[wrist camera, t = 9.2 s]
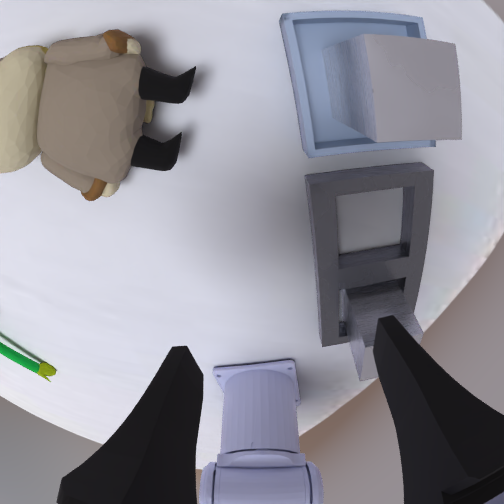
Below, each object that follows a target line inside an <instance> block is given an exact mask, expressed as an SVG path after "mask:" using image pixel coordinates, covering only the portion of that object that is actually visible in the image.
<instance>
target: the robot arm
mask: <svg viewBox="0 0 504 504" xmlns="http://www.w3.org/2000/svg"><path fill="white" fill-rule="evenodd" d="M373 355H374V360H375V364H376V368H377V372H378V376H379V379H380V382H381V384H382V387H383V390H384V393H385V396H386V399H387V402H388V405H389V408H390V411H391V414H392V417H393V420H394V424H395V427H396V432H397V438H398V443H399V449H400V456H401V464H402V473H403V484H404V504H504V415H502V414H501V413H499V412H497V411H496V410H494V409H492V408H491V407H490V406H488V405H487V404H485V403H484V402H482V401H481V400H479V399H478V398H476V397H475V396H474V395H473V394H471V393H470V392H469V391H467V390H466V389H465V388H464V387H462V386H461V385H460V384H459V383H458V382H457V381H455V380H454V379H453V378H452V377H451V376H450V375H449V374H448V373H446V372H445V370H444V369H443V368H442V367H441V366H439V365H438V364H437V363H436V362H435V361H434V360H433V358H432V357H431V356H430V355H429V354H428V353H427V352H426V351H425V350H424V349H423V348H422V347H421V346H420V345H419V343H418V342H417V341H416V340H415V339H414V338H413V337H412V336H411V335H410V333H409V332H408V331H407V330H406V329H405V328H404V326H403V325H402V324H401V323H400V322H399V321H398V319H397V318H396V317H395V316H394V315H390V316H386V317H381V318H378V322H377V328H376V335H375V341H374V346H373ZM213 375H214V377H215V378H216V380H217V382H218V384H219V386H220V387H221V389H222V391H223V393H224V404H223V419H222V435H221V451H220V454H217V463H216V462H210V463H209V464H208V465H207V466H205V467H204V468H203V471H202V476H201V482H200V494H199V504H323V498H324V492H323V482H322V477H321V473H320V471H319V469H318V468H317V467H316V466H315V465H314V464H313V463H312V462H305V454H304V453H301V454H300V447H299V435H298V423H297V412H296V406H299V405H300V404H301V402H300V395H299V388H298V382H297V375H296V368H295V362H294V361H293V360H285V361H278V362H270V363H261V364H252V365H242V366H231V367H219V368H214V369H213ZM202 402H203V373H202V372H201V370H200V368H199V366H198V365H197V363H196V361H195V359H194V358H193V356H192V354H191V352H190V350H189V349H188V347H187V346H175V347H172V348H171V350H170V351H169V353H168V355H167V356H166V358H165V360H164V361H163V363H162V365H161V367H160V368H159V370H158V372H157V373H156V375H155V377H154V378H153V380H152V381H151V383H150V385H149V386H148V388H147V389H146V391H145V393H144V394H143V396H142V397H141V399H140V400H139V402H138V403H137V404H136V406H135V407H134V409H133V410H132V412H131V413H130V414H129V416H128V417H127V418H126V420H125V421H124V422H123V423H122V425H121V426H120V427H119V428H118V429H117V431H116V432H115V433H114V434H113V435H112V436H111V437H110V438H109V439H108V441H107V442H106V443H105V444H104V445H103V446H102V447H101V448H100V449H99V450H98V451H96V452H95V453H94V454H93V455H92V456H91V457H90V458H88V459H87V460H86V461H85V462H84V463H83V464H81V465H80V466H79V467H77V468H76V469H74V470H73V471H72V472H70V473H69V474H67V475H66V476H65V477H63V478H62V480H61V484H60V489H59V493H58V498H57V503H58V504H197V498H196V475H195V474H196V473H195V468H196V444H197V437H198V430H199V423H200V416H201V409H202Z"/></svg>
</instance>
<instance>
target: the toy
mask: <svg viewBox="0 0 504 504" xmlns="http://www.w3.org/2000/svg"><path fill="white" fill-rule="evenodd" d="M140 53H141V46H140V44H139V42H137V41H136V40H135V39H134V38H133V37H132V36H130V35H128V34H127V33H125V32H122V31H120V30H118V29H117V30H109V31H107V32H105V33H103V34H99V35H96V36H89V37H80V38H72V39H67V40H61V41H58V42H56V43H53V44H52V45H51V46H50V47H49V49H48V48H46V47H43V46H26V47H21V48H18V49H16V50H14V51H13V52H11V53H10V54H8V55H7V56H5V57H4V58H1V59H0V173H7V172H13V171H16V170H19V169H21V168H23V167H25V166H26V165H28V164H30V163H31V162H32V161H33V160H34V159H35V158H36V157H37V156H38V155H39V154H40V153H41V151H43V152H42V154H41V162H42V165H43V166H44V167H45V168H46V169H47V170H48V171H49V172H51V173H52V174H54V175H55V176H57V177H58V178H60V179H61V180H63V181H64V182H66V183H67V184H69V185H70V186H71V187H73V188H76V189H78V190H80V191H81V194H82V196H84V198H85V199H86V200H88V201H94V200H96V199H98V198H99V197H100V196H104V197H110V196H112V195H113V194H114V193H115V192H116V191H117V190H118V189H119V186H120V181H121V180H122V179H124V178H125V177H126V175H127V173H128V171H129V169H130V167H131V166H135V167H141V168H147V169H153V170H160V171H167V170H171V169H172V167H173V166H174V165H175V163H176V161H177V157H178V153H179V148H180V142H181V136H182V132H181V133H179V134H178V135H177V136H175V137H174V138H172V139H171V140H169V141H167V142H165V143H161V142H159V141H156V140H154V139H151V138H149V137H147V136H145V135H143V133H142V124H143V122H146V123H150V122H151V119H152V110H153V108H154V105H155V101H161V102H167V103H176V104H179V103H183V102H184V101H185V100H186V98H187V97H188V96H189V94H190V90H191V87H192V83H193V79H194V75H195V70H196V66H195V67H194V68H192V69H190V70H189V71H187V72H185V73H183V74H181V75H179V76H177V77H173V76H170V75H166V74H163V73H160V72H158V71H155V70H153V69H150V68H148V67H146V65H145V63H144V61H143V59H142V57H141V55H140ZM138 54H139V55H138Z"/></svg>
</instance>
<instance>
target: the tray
mask: <svg viewBox="0 0 504 504" xmlns="http://www.w3.org/2000/svg"><path fill="white" fill-rule="evenodd" d="M279 23H280V28H281V32H282V37H283V41H284V46H285V51H286V56H287V60H288V65H289V70H290V76H291V81H292V86H293V92H294V97H295V103H296V109H297V115H298V121H299V127H300V133H301V140H302V147H303V151H304V152H305V153H306V155H307V156H308V158H313V157H320V156H328V155H336V154H345V153H354V152H364V151H375V150H387V149H400V148H416V147H436V140H415V141H395V142H380V143H377V142H375V141H373V140H372V139H370V138H368V137H366V136H365V135H363V134H361V133H359V132H358V131H356V130H354V129H352V128H350V127H348V126H347V125H345V124H343V123H341V122H339V121H337V120H335V119H333V118H332V112H331V105H330V98H329V91H328V85H327V78H326V72H325V67H324V61H323V55H322V50H323V49H325V48H328V47H330V46H333V45H335V44H338V43H340V42H343V41H346V40H348V39H351V38H354V37H356V36H359V35H362V34H379V35H394V36H405V37H414V38H422V39H427V38H426V32H425V27H424V22H423V18H422V17H416V16H409V15H401V14H392V13H381V12H366V11H312V12H296V13H285V14H282V15H281V18H280V20H279Z"/></svg>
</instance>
